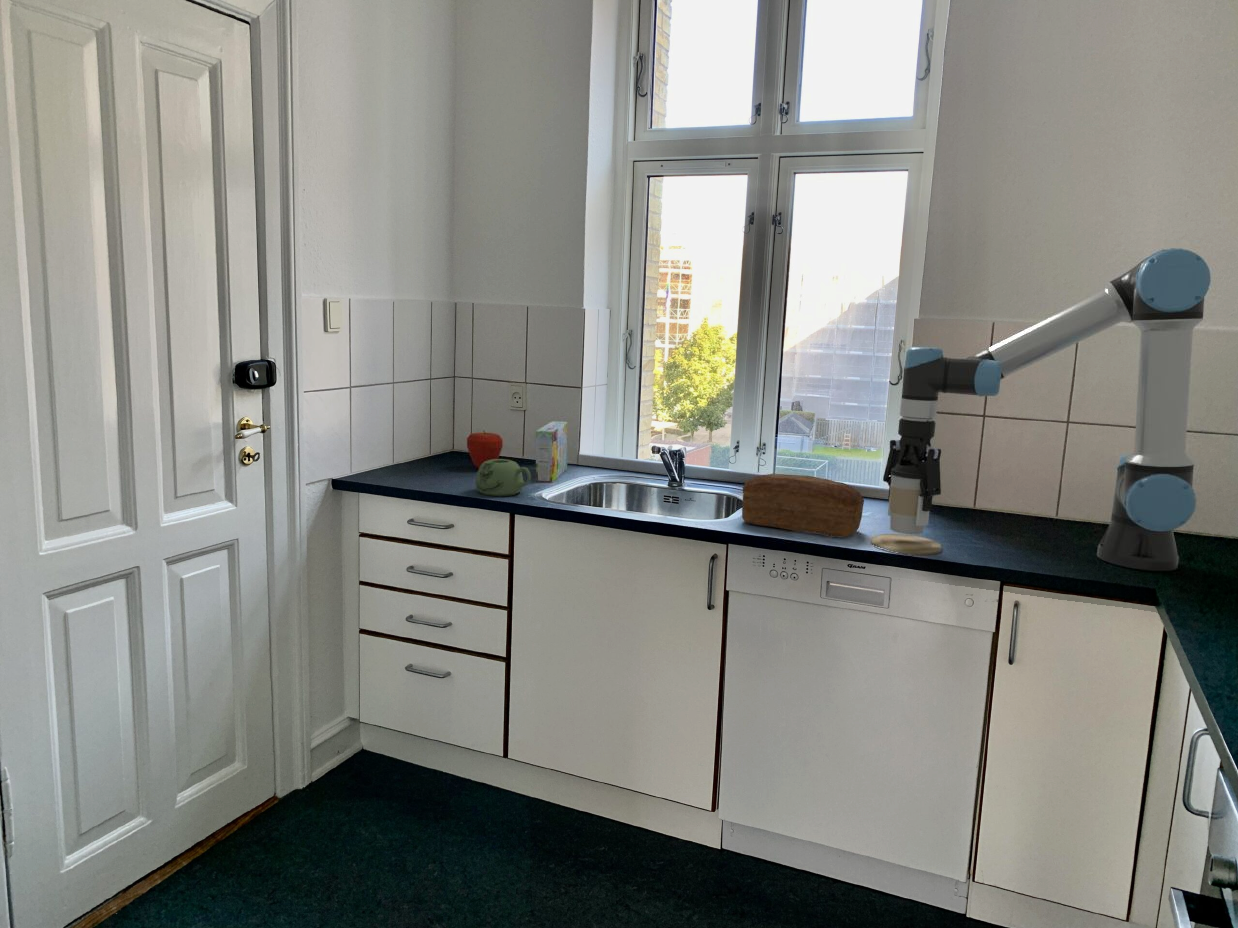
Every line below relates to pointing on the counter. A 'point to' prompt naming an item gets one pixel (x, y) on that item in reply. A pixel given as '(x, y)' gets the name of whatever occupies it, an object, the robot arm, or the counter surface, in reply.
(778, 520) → the bread
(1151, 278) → the robot arm
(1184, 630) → the counter surface
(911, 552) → the coaster
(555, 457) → the snack box
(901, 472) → the coffee cup
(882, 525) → the counter surface
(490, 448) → the apple
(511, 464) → the mug
